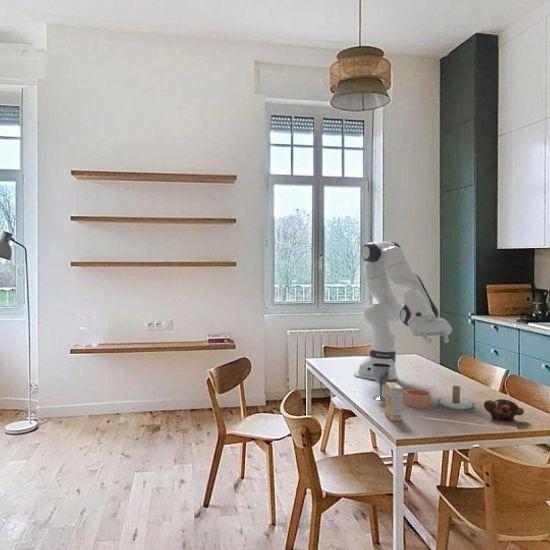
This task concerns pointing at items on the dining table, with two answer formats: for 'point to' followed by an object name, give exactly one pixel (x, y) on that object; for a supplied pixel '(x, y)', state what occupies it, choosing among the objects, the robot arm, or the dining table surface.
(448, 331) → the robot arm
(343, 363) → the dining table surface
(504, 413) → the decorative turtle
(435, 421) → the dining table surface
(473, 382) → the dining table surface
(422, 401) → the bowl
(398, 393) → the supplement box
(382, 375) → the wine glass
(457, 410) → the mat
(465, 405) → the lid
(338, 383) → the dining table surface
